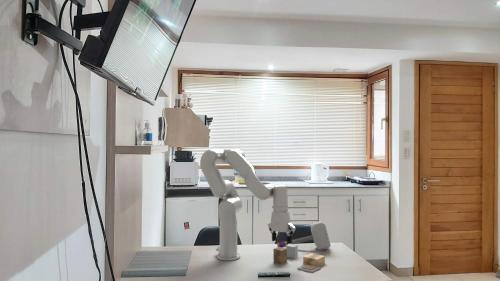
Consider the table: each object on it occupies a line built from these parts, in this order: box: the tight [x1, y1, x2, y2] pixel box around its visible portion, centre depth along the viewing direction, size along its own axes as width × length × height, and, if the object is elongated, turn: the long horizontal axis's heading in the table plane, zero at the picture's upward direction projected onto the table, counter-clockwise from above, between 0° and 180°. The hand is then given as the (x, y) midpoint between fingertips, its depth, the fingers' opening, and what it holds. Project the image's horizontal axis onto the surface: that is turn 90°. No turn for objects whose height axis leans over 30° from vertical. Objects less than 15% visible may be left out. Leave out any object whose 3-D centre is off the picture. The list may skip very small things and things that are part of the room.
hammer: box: [276, 220, 331, 251], centre depth 213 cm, size 15×8×30 cm
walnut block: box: [273, 247, 288, 265], centre depth 187 cm, size 5×5×7 cm
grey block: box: [285, 244, 299, 259], centre depth 198 cm, size 5×5×6 cm
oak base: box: [302, 252, 326, 267], centre depth 185 cm, size 8×8×4 cm
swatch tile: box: [297, 264, 322, 274], centre depth 176 cm, size 8×8×1 cm
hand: (281, 242), depth 187 cm, fingers open, 9 cm apart
